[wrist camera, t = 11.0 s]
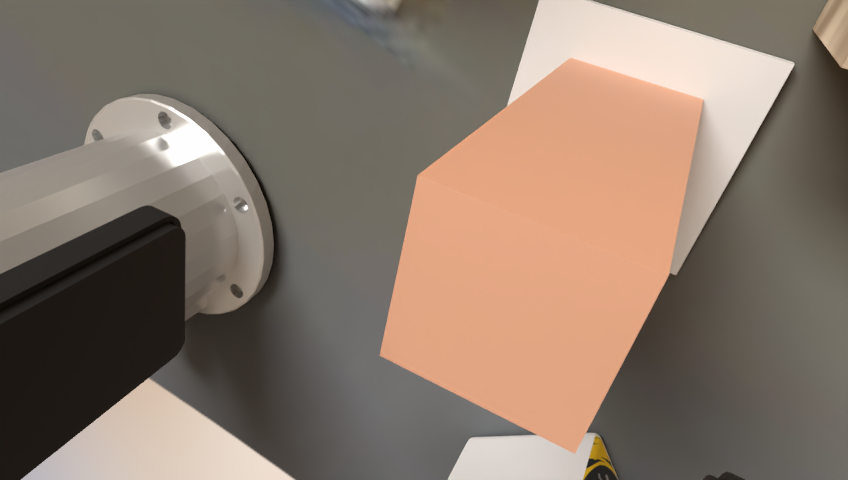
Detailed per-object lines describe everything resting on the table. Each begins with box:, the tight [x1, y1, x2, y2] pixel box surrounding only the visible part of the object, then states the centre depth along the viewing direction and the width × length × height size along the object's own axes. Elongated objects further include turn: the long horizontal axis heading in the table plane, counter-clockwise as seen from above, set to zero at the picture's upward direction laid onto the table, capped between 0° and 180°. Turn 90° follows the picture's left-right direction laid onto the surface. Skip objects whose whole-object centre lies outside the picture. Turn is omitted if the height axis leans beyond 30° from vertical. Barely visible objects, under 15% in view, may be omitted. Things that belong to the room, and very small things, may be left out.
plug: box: [380, 58, 704, 454], centre depth 16 cm, size 4×4×12 cm
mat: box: [507, 0, 795, 275], centre depth 21 cm, size 8×8×1 cm
